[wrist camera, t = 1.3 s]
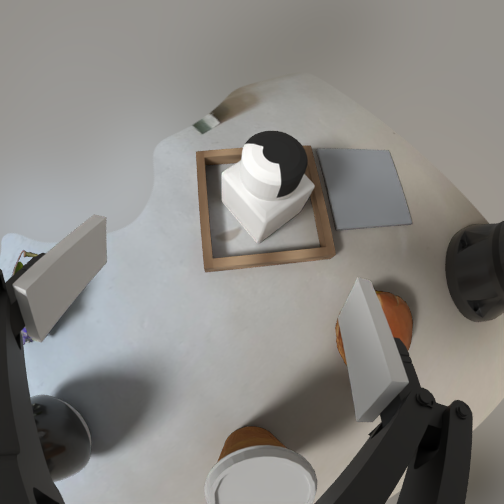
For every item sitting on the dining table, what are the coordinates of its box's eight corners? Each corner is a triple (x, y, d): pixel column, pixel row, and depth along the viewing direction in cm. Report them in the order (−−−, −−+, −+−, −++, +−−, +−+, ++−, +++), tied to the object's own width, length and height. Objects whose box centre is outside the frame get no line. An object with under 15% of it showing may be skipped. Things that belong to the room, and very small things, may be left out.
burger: (359, 385, 32) (376, 390, 28) (317, 327, 34) (330, 325, 30) (412, 334, 35) (432, 332, 30) (374, 278, 36) (392, 270, 32)
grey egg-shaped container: (26, 395, 28) (-50, 409, 13) (85, 385, 29) (9, 406, 15) (53, 463, 25) (-10, 503, 11) (114, 460, 27) (60, 516, 13)
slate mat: (387, 152, 42) (388, 150, 41) (410, 224, 39) (412, 223, 38) (316, 150, 40) (317, 148, 40) (336, 230, 37) (337, 229, 37)
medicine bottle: (264, 171, 39) (279, 111, 27) (301, 211, 38) (331, 161, 26) (220, 201, 37) (219, 144, 25) (257, 245, 36) (272, 202, 24)
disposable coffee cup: (290, 410, 31) (322, 443, 19) (291, 478, 29) (319, 528, 17) (206, 414, 30) (198, 453, 19) (212, 483, 28) (208, 538, 16)
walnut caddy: (307, 153, 40) (310, 145, 38) (330, 258, 36) (335, 254, 34) (197, 160, 38) (196, 151, 36) (205, 272, 34) (204, 268, 33)
